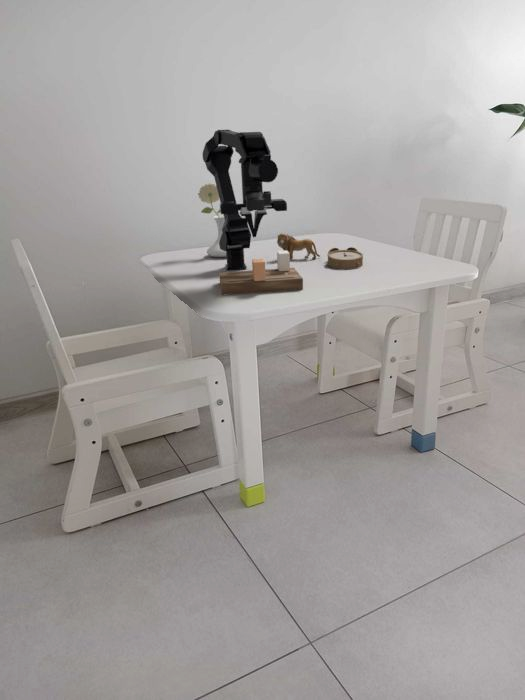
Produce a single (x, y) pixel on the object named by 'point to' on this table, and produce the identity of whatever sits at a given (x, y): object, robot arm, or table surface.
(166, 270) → the table surface
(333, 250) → the alarm clock
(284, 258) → the block
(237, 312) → the table surface
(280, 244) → the lion figurine
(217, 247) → the flower in vase
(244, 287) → the board
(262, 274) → the terracotta fader
